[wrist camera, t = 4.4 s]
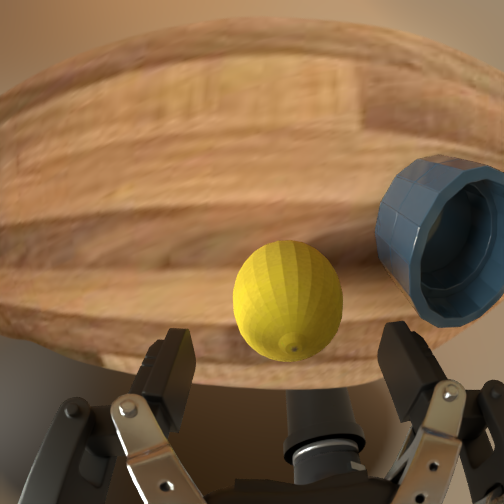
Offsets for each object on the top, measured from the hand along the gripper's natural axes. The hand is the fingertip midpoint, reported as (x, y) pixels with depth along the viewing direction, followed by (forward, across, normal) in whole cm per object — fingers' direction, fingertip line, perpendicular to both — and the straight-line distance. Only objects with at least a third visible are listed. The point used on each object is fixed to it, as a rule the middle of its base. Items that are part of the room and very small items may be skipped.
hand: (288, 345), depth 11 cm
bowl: (+8, -11, -2) cm, 13 cm away
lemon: (+8, 0, 0) cm, 8 cm away
